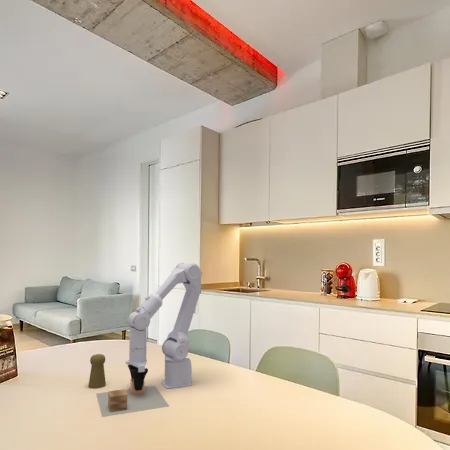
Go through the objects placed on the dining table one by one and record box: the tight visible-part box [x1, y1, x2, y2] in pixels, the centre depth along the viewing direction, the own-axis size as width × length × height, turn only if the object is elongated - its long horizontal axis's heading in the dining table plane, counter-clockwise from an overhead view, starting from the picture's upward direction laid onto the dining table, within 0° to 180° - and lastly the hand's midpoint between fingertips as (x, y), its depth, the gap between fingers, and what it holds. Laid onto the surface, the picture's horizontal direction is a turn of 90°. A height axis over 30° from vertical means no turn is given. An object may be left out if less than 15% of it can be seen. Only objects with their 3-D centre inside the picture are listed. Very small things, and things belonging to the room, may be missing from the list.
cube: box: [129, 378, 145, 395], centre depth 131 cm, size 4×4×4 cm
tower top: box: [107, 388, 127, 405], centre depth 118 cm, size 5×5×2 cm
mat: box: [95, 385, 170, 418], centre depth 124 cm, size 20×20×1 cm
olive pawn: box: [88, 353, 107, 390], centre depth 137 cm, size 6×6×11 cm
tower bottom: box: [108, 399, 127, 412], centre depth 118 cm, size 5×5×2 cm
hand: (137, 387), depth 131 cm, fingers closed on cube, 4 cm apart
